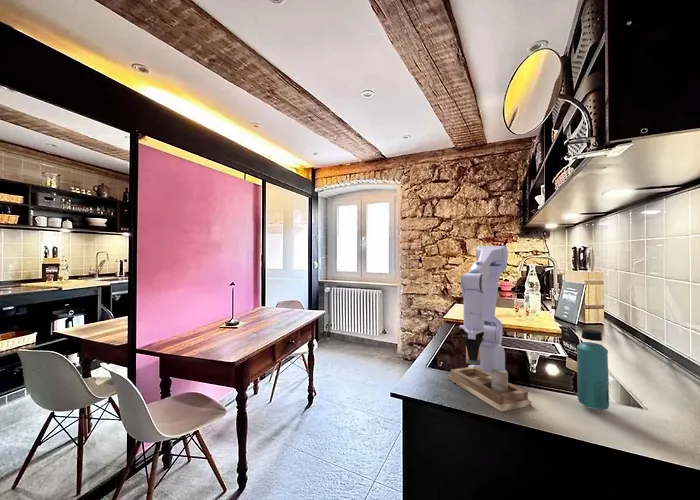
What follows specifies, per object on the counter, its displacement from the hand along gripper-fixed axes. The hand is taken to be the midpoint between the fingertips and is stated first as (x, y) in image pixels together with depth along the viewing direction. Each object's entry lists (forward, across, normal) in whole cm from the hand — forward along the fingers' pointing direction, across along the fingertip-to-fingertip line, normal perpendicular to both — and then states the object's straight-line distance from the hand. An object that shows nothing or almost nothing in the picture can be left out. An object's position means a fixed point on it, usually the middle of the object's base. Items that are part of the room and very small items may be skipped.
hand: (473, 357), depth 93 cm
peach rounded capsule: (+2, 0, 0) cm, 2 cm away
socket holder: (+8, +4, +4) cm, 9 cm away
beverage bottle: (+8, +3, +28) cm, 30 cm away
